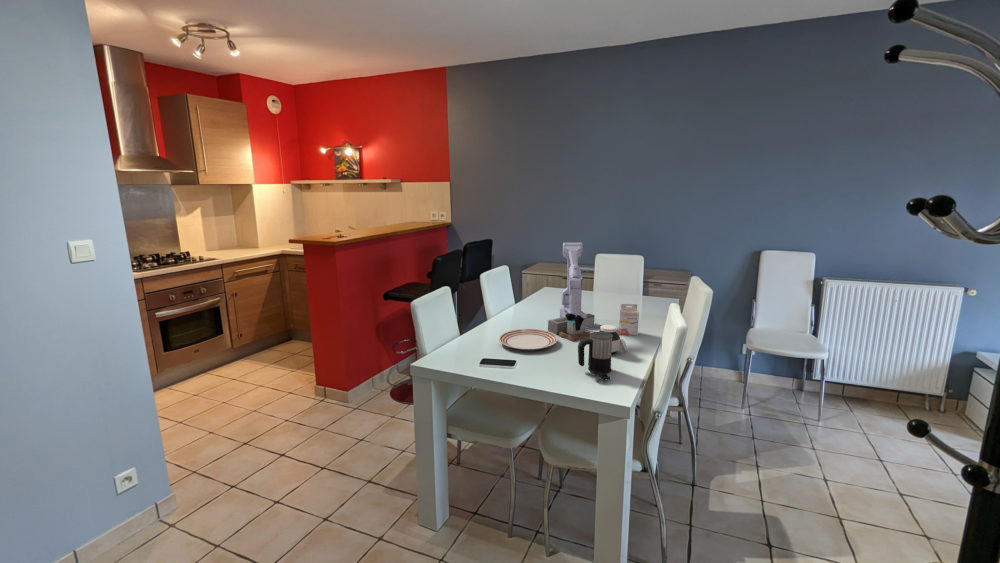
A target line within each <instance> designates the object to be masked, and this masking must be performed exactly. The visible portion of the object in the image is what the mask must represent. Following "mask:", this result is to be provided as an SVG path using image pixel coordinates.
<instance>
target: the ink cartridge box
mask: <svg viewBox="0 0 1000 563" xmlns="http://www.w3.org/2000/svg"><path fill="white" fill-rule="evenodd" d="M619 310H620V311H619V326H618V327H619V328H618V333H619V335H620V336H621V335H624V336H625V335H626V336H638V335H639V334H638V333H639V332H638V331H639V323H640V322H639V321H640V320H639V318H640V311H638V304H636V303H621V304H620V309H619Z"/></svg>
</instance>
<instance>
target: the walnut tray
mask: <svg viewBox="0 0 1000 563" xmlns="http://www.w3.org/2000/svg"><path fill="white" fill-rule="evenodd" d="M590 333H591V332H590V331H587V330H585V329H583V333H579V334H574V335H571V334H569V333H567V330H566V331H561V332H559V335H558V337H561V338H562V339H565V340H568V341H570V342H574V341H577V340H582V339H585V338H586V337H587V338H590Z"/></svg>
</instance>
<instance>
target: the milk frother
mask: <svg viewBox="0 0 1000 563" xmlns="http://www.w3.org/2000/svg"><path fill="white" fill-rule="evenodd" d="M612 337H613V335H612V334H610V333H607V332H599V331H593V332H590V337H587V338H582V339H580V341H579V343H578V344H577V356H578V358H577V361H578V365H579V366H580V367H584V366H585V348H586V346H587V345H588V362H587V366H588V368H587V369H588V371H589V373H590V374H591V375H593V376H596V377H597V378H599V379H601V380H603V381H605V382H606V381H610V380H611V376H610V375H608V374H610V373H612V355H611V352H612Z"/></svg>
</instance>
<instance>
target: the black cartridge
mask: <svg viewBox="0 0 1000 563" xmlns="http://www.w3.org/2000/svg"><path fill="white" fill-rule="evenodd" d="M586 314H587V318H585V319H584V320H583V321H584V326H583V329H588V328H592V327H595V314H592V313H586ZM591 326H592V327H591ZM587 327H588V328H587Z"/></svg>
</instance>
